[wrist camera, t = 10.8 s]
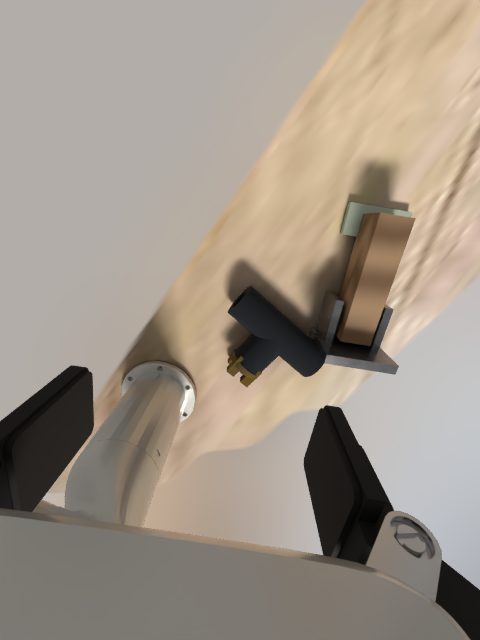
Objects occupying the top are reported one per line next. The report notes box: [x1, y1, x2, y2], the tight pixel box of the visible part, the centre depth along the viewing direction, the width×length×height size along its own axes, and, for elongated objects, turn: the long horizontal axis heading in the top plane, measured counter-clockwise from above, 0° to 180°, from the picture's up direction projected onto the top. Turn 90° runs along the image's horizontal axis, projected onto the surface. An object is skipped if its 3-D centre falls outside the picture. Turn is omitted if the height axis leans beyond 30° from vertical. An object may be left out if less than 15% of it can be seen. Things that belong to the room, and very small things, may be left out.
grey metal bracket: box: [310, 291, 398, 374], centre depth 37 cm, size 7×9×9 cm
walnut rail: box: [335, 212, 416, 346], centre depth 35 cm, size 16×4×5 cm, turn 171°
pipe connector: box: [227, 286, 324, 387], centre depth 41 cm, size 12×5×15 cm
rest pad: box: [340, 202, 412, 237], centre depth 36 cm, size 4×8×1 cm, turn 81°
